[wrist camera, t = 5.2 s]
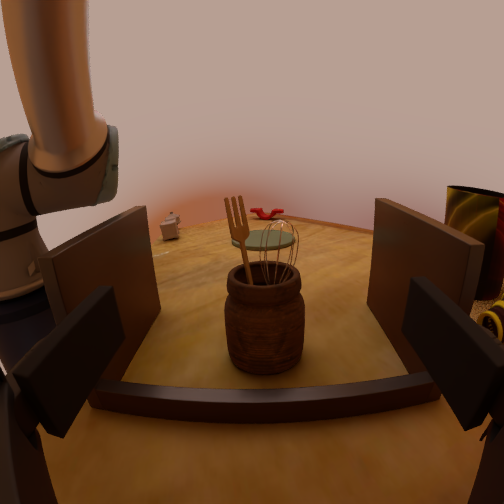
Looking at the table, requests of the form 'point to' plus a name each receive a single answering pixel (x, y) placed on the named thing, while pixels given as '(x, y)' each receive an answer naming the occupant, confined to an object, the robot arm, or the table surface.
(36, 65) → the robot arm
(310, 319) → the table surface
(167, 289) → the table surface
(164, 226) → the toy set
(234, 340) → the utensil holder
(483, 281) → the mug
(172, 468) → the table surface
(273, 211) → the pipe clamp
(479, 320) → the opera glasses
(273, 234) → the rubber mat
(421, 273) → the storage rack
